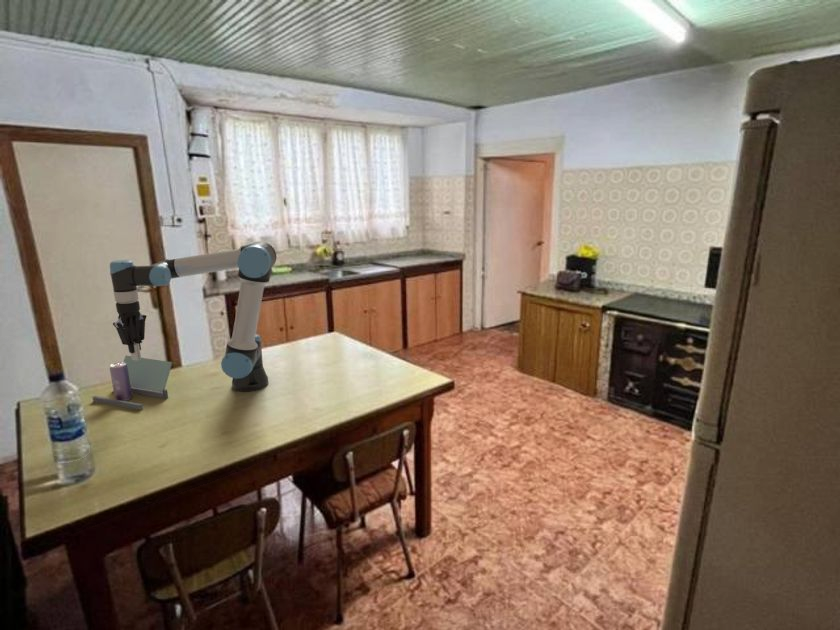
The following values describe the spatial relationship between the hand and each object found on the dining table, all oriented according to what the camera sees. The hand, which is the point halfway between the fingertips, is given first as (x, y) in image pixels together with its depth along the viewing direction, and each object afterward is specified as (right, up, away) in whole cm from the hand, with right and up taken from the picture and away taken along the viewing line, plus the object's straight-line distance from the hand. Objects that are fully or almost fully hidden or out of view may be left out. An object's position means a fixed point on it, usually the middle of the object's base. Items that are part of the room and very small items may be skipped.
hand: (136, 359), depth 179 cm
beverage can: (-10, -17, +8) cm, 21 cm away
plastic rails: (-7, -17, +7) cm, 20 cm away
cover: (-5, -7, +12) cm, 15 cm away
